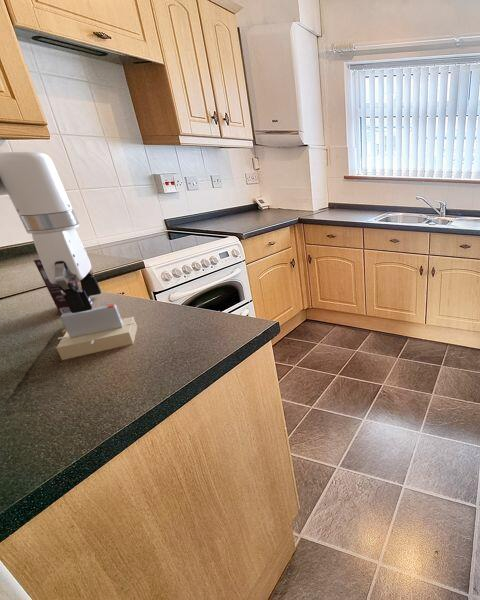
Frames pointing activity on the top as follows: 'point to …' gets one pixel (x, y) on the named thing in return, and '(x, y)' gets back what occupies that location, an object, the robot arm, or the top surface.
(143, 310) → the top surface
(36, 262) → the supplement box
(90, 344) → the low beige pedestal
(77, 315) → the pale blue rectangular brick
